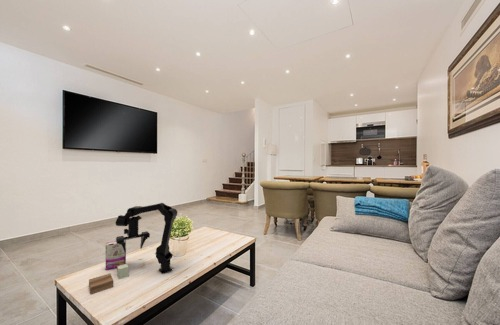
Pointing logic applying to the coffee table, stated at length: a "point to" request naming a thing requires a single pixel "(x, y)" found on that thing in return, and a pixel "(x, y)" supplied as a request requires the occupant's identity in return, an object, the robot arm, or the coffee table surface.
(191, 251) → the coffee table surface
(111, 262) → the candy bar box
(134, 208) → the robot arm
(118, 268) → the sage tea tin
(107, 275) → the walnut block
